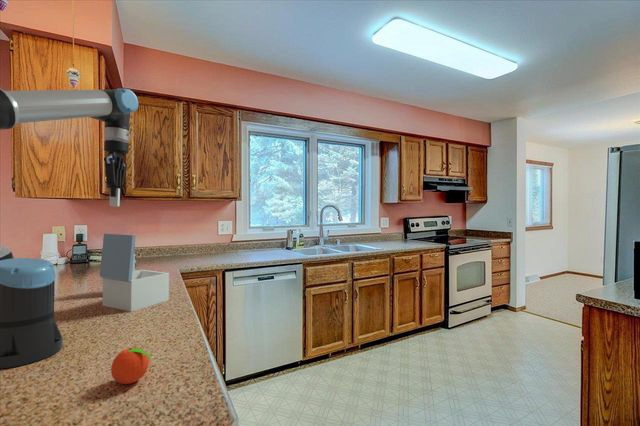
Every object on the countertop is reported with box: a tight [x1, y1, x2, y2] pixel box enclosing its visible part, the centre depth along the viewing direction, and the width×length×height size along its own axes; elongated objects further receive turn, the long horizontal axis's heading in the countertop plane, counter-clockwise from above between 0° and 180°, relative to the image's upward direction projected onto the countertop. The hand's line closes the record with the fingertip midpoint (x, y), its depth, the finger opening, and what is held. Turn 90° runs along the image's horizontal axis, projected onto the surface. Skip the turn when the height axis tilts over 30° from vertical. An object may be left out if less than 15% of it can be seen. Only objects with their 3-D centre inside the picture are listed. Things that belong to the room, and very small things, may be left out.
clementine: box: [110, 347, 152, 385], centre depth 67 cm, size 8×7×7 cm
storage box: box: [102, 269, 170, 312], centre depth 124 cm, size 16×16×11 cm
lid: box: [99, 233, 137, 282], centre depth 117 cm, size 17×16×1 cm
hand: (114, 206), depth 115 cm, fingers closed
